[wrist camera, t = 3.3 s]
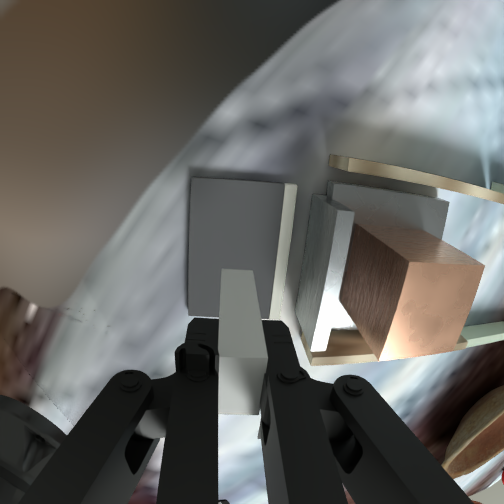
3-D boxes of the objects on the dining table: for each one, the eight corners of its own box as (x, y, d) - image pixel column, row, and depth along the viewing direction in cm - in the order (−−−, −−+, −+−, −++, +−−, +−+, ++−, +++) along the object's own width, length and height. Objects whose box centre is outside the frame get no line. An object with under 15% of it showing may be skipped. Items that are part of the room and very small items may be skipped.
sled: (293, 322, 24) (319, 397, 16) (314, 179, 20) (366, 204, 13) (409, 319, 25) (458, 375, 17) (440, 198, 21) (512, 227, 14)
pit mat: (189, 311, 23) (188, 316, 23) (192, 176, 20) (191, 178, 19) (278, 314, 24) (279, 319, 23) (295, 184, 21) (297, 185, 20)
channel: (300, 339, 25) (310, 365, 22) (330, 154, 20) (349, 157, 17) (446, 330, 27) (465, 348, 23) (486, 188, 22) (512, 196, 19)
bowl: (401, 433, 33) (423, 477, 25) (528, 317, 29) (564, 346, 21) (437, 466, 40) (453, 495, 32) (530, 384, 36) (552, 408, 29)
